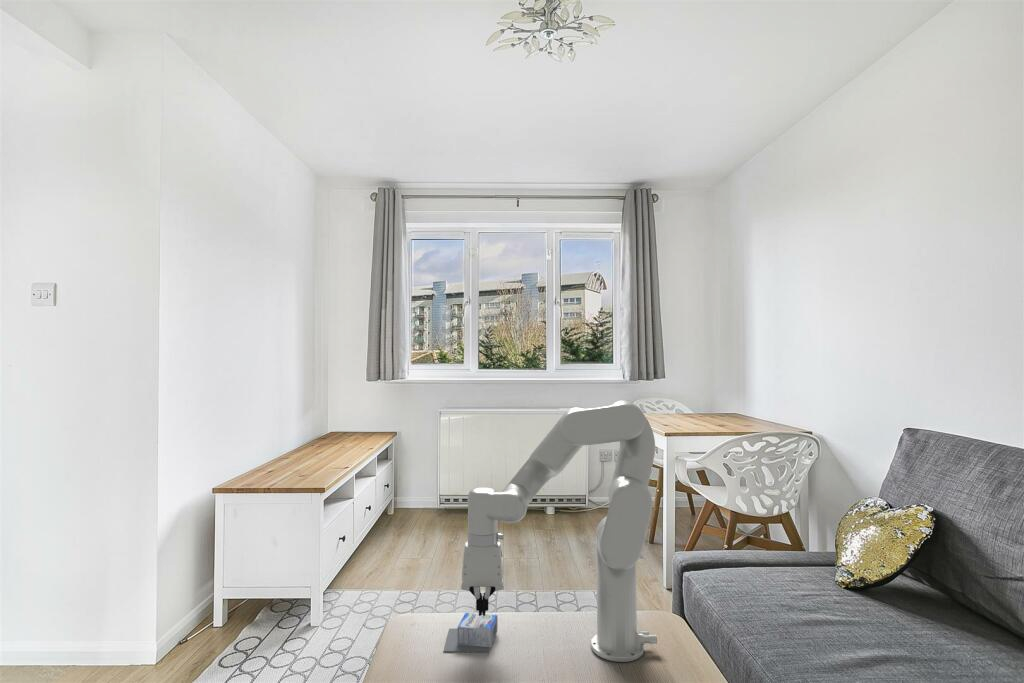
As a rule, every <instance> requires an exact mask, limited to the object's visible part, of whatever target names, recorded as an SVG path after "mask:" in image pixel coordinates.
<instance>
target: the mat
mask: <svg viewBox="0 0 1024 683" xmlns="http://www.w3.org/2000/svg"><path fill="white" fill-rule="evenodd" d="M457 629H458V628H448V632H447V635H446V639H445V643H444V647H443V650H442V651H443V652H442V653H490V648H491V647H479V646H468V645H458V640H457Z"/></svg>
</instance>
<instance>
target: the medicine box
mask: <svg viewBox="0 0 1024 683" xmlns="http://www.w3.org/2000/svg"><path fill="white" fill-rule="evenodd" d="M498 620H499V619H498V615H497V614H486V613H485V616H483V615H481V616H479V613H474V612H465V613H464V615H463V616H462V618H461V620H460V622H459V624H458V625H457V628H456V629H457V640H458V645H468V646H479V647H490V648H491V647H492V646H493V644H494V640H495V638H496V636H497V633H498V627H499V626H498Z"/></svg>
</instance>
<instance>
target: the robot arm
mask: <svg viewBox="0 0 1024 683" xmlns="http://www.w3.org/2000/svg"><path fill="white" fill-rule="evenodd" d="M654 435H655V434H654V431H653V428H652V425H651V424H650V422H649V420H648V418H647V417H646V416H645V414H644V412H643V409H641V408H640V407H639V406H637V405H636V404H635V403H633V402H630V401H628V400H618V401H615V402H613V403H612V404H611V405H607V406H601V407H594V408H584V407H580V406H577V407H571V408H570V409H567V411H565V412H564V413H563V414H562V416H560V418H559V420H557V422H556V423H555V424H554V425H553V427H552V428H551V429H550V431H549V432H548V433H547V434H546V435H545V437H544V438H543V440H541V442H540V443H539V444H538V445H537V447H536V448H535V449H534V450H533V451H532V453H531V454H530V456H529V458H528V459H527V460H526V461H525V463H524V464H523V465H522V466H521V467H520V469H519V470H518V471H517V473H516V474H515V475H514V476H513V477H512V479H510V481H509V482H508V484H506V486H505V487H504V489H503V490H502V492H497V490H496V489H495V488H491V487H485V486H484V487H483V486H481V487H476V488H472V489H471V490H469V491H468V496H467V541H466V542H465V544H464V549H463V553H462V554H463V556H462V567H461V581H462V582H461V586H460V589H461V590H463V591H467V592H469V593H471V594H472V595H473V597H474V599H475V602H476V604H475V609H476V610H475V611H478V614H479V616H481V615H483V616H485V614H486V613H487V612H488V611H489V601H490V600H489V599H490V597H491V596H492V595H493V594H494V593H495V592H498V591H503V590H504V588H505V587H504V586H505V585H504V580H503V577H504V564H503V563H504V560H503V550H502V544H501V542H500V540H504V534H503V533H500V532H498V531H499V529H498V528H499V527H498V525H499V521H500V522H503V523H508V524H509V523H510V524H514V523H519V522H520V521H521V520H522V519H524V518H525V516H526V514H527V510H528V506H529V504H530V503H531V502H532V500H533V499H534V497H536V496H537V494H538V493H539V491H540V490H541V489H542V488H543V487H544V486H545V485H546V483H548V482H549V481H550V480H551V479H553V478H554V477H557V476H559V474H560V473H562V472H563V471H564V469H565V468H566V467H567V465H568V464H569V463H570V462H571V461H572V459H573V458H574V457H575V455H576V454H578V452H579V451H580V450H581V448H582V447H583V446H592V445H603V444H609V443H617V442H619V450H618V451H619V452H618V455H617V461H616V465H615V468H614V472H613V475H612V478H611V482H610V485H609V487H608V501H609V506H608V510H607V514H606V516H604V517H603V518H602V519H601V520H600V522H599V523H598V524H597V526H596V531H595V550H596V553H595V554H596V628H597V629H596V634H595V635H593V637H592V638H591V639H590V649H591V651H592V652H593V653H594V654H596V655H597V656H598V657H600V658H602V659H603V660H607V661H610V662H617V663H627V662H633V661H636V660H638V659H640V658H641V657H642V656H643V654H644V650H645V649H644V648H645V647H644V646H645V644H649V645H657V644H658V637H657V634H650V631H649V630H642V631H641V630H640V629H638V626H637V624H638V623H637V620H638V619H637V618H638V614H637V613H638V612H637V610H638V608H637V604H638V603H637V598H638V597H637V563H638V562H639V559H640V558H641V556H642V552H643V549H644V545H645V540H646V537H647V534H648V530H649V525H650V522H651V519H652V518H651V517H652V515H653V514H652V513H653V498H652V494H651V493H650V491H649V483H650V477H651V475H652V474H651V473H652V469H653V464H654V459H655V455H656V454H655V453H656V441H655V440H656V439H655V436H654ZM480 587H481V588H482V587H483V588H485V590H484V593H483V594H482V593H481V588H480Z"/></svg>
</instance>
